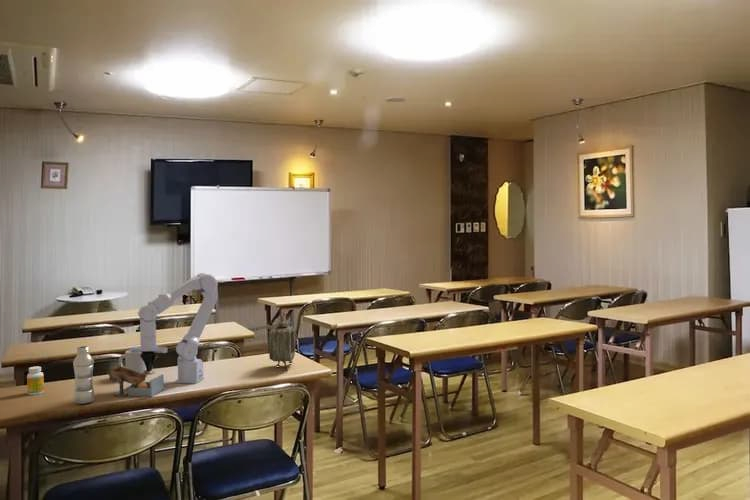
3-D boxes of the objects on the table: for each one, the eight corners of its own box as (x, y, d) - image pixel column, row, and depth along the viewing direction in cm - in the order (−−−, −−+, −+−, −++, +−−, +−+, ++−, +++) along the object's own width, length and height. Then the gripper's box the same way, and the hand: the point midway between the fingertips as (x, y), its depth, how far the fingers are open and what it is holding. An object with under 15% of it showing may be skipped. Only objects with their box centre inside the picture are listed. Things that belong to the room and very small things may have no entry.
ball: (150, 383, 217) (142, 379, 218) (145, 386, 214) (137, 381, 214) (146, 392, 218) (138, 387, 218) (141, 394, 214) (133, 390, 214)
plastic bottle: (78, 400, 207) (76, 345, 206) (98, 400, 207) (96, 345, 207) (70, 406, 200) (68, 349, 200) (90, 405, 201) (88, 348, 200)
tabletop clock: (290, 371, 245) (289, 313, 244) (269, 371, 246) (267, 313, 245) (295, 363, 260) (294, 308, 259) (275, 363, 260) (274, 308, 259)
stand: (141, 388, 222) (141, 371, 221) (125, 396, 211) (125, 378, 211) (129, 388, 222) (129, 371, 222) (113, 396, 212) (112, 378, 211)
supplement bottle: (32, 395, 214) (31, 370, 214) (24, 393, 217) (23, 368, 216) (46, 392, 219) (46, 366, 218) (39, 390, 221) (38, 365, 221)
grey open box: (163, 390, 219) (163, 374, 219) (151, 396, 211) (151, 380, 210) (141, 389, 221) (140, 373, 220) (128, 396, 212) (127, 380, 212)
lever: (153, 380, 226) (155, 370, 226) (134, 390, 213) (136, 379, 212) (127, 371, 227) (130, 362, 227) (107, 380, 214) (110, 370, 214)
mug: (151, 374, 243) (151, 348, 243) (141, 379, 235) (140, 353, 235) (125, 373, 245) (124, 348, 245) (113, 379, 237) (112, 352, 236)
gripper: (125, 337, 221) (126, 372, 221) (160, 338, 219) (161, 373, 219) (135, 334, 228) (136, 368, 228) (169, 334, 226) (170, 369, 226)
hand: (149, 370), depth 224 cm, fingers closed, pressing on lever
